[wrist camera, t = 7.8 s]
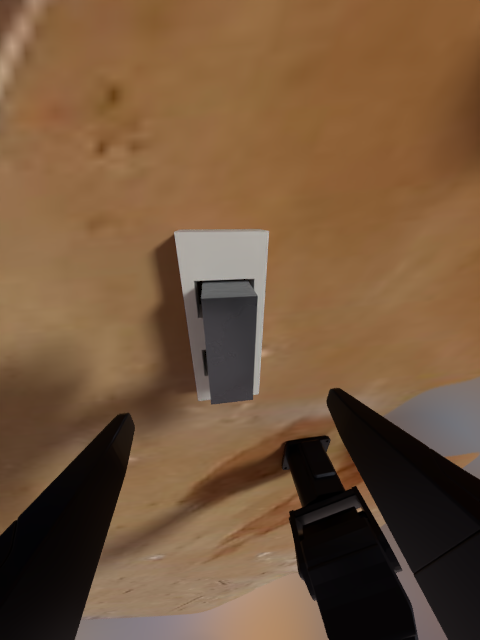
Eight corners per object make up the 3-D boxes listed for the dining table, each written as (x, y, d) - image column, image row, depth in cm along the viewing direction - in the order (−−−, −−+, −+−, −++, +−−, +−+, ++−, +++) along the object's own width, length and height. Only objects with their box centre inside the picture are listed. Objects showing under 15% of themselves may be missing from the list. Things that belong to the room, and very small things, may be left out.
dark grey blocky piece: (241, 355, 19) (252, 399, 14) (210, 358, 18) (211, 404, 14) (242, 272, 15) (257, 296, 10) (203, 273, 15) (201, 298, 10)
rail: (253, 375, 21) (258, 394, 18) (199, 381, 20) (198, 401, 18) (259, 229, 14) (268, 231, 12) (179, 229, 13) (174, 231, 11)
